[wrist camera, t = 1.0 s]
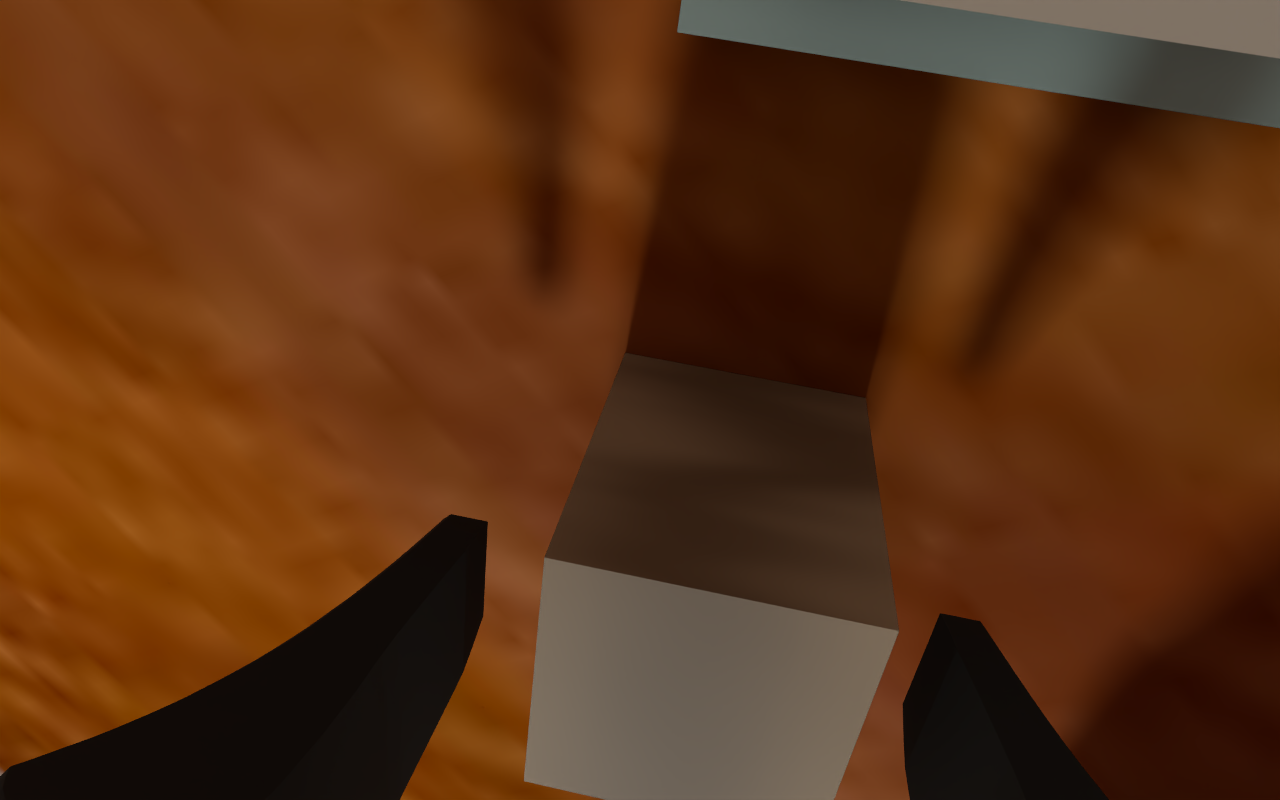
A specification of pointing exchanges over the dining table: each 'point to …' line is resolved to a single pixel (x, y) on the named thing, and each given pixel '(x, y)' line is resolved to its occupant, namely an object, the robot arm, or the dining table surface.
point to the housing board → (1005, 52)
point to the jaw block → (712, 594)
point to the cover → (1152, 19)
